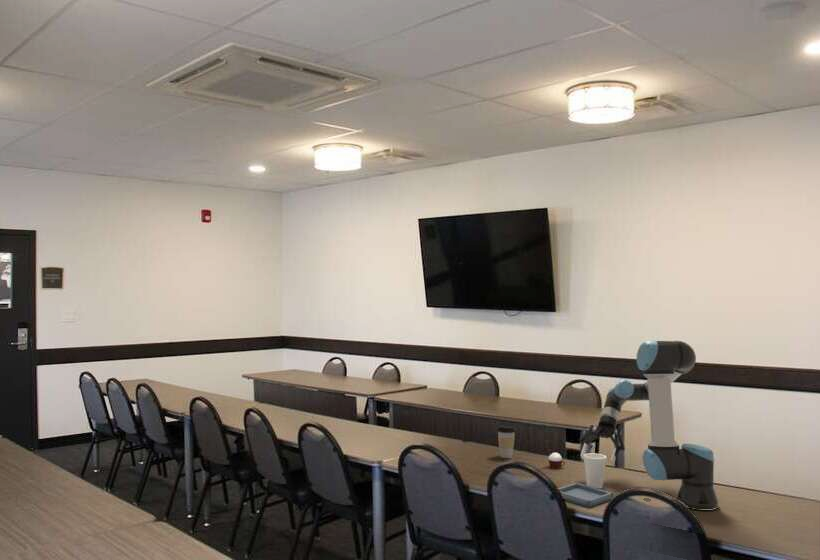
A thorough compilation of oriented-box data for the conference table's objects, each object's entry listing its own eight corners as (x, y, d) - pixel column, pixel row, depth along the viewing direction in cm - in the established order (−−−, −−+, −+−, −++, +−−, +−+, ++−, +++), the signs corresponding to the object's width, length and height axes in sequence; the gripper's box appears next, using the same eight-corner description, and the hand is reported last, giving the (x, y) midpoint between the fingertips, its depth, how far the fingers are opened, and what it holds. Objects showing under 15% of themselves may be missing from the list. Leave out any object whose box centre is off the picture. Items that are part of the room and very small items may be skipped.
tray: (613, 499, 276) (613, 493, 276) (589, 507, 266) (589, 501, 266) (576, 488, 290) (576, 482, 290) (552, 496, 280) (552, 490, 280)
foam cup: (604, 483, 298) (604, 453, 297) (608, 490, 288) (608, 459, 288) (581, 482, 298) (582, 452, 298) (585, 489, 289) (585, 458, 289)
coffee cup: (495, 458, 338) (495, 428, 338) (498, 453, 347) (498, 424, 347) (514, 459, 336) (514, 429, 336) (517, 455, 345) (517, 425, 345)
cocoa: (566, 468, 322) (567, 443, 322) (557, 470, 318) (559, 444, 318) (550, 463, 329) (551, 438, 329) (541, 465, 325) (543, 440, 325)
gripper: (638, 427, 305) (627, 469, 293) (584, 420, 319) (572, 459, 307) (634, 418, 301) (623, 459, 288) (580, 411, 315) (567, 450, 303)
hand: (596, 459), depth 298 cm, fingers open, 13 cm apart
